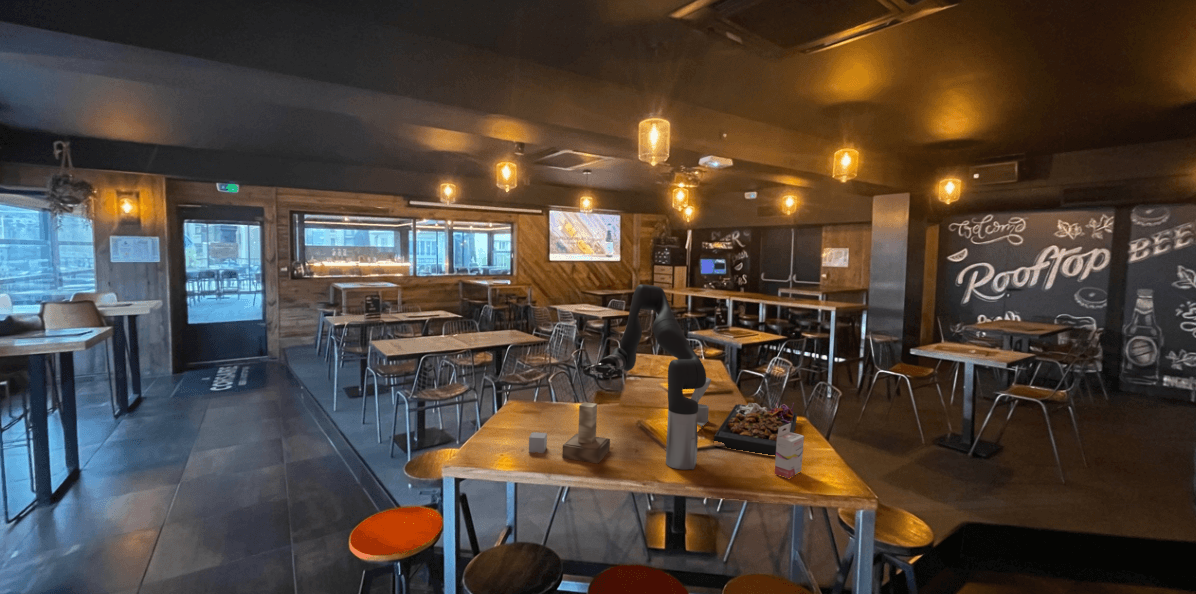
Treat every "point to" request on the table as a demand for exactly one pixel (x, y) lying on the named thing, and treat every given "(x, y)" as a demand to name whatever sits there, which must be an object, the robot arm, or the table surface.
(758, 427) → the food platter
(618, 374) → the robot arm
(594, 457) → the walnut riser
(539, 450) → the stone cube
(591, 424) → the oak block
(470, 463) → the table surface
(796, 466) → the ink cartridge box
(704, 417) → the phone holder
